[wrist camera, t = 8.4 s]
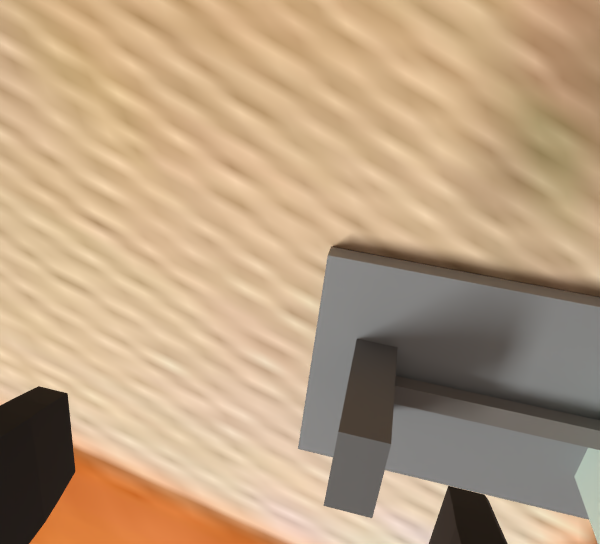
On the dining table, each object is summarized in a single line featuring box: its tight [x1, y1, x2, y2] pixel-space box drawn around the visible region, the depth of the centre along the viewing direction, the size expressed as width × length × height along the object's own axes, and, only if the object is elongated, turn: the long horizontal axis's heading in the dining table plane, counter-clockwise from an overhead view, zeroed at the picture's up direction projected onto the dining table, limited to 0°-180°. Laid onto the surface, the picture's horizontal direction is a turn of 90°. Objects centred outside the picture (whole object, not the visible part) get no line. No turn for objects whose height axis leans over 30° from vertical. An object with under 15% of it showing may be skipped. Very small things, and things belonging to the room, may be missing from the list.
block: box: [324, 339, 600, 544], centre depth 17 cm, size 5×14×5 cm, turn 83°
